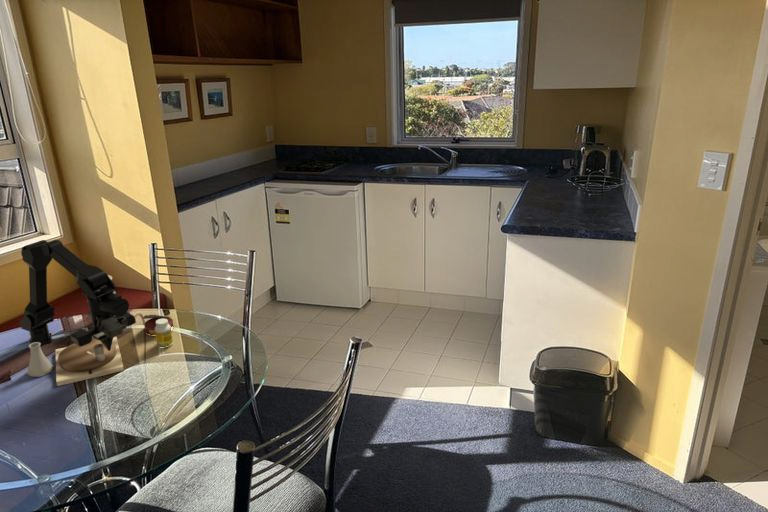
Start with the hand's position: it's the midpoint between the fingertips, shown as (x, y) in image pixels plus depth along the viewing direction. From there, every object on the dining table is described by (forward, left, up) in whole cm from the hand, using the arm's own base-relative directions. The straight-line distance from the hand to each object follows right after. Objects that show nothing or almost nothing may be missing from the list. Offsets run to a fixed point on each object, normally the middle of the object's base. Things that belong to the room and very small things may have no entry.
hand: (108, 350), depth 181 cm
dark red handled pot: (-17, +18, -6) cm, 26 cm away
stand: (-5, -6, -6) cm, 10 cm away
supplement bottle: (-5, +18, -6) cm, 19 cm away
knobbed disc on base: (-5, -6, -4) cm, 9 cm away
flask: (-6, -20, -6) cm, 22 cm away
